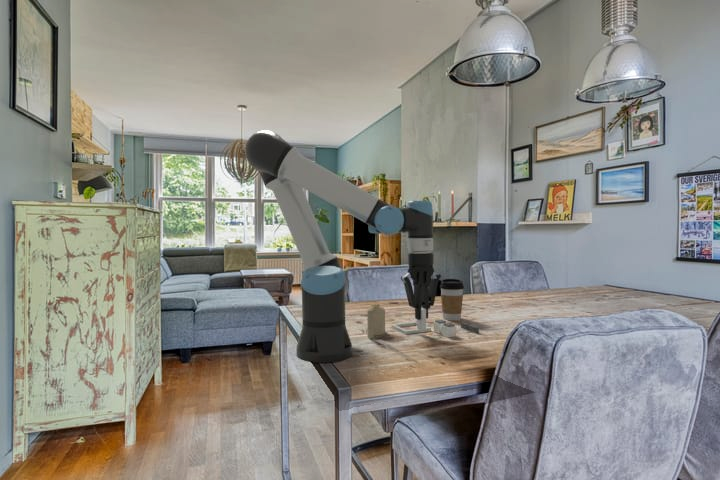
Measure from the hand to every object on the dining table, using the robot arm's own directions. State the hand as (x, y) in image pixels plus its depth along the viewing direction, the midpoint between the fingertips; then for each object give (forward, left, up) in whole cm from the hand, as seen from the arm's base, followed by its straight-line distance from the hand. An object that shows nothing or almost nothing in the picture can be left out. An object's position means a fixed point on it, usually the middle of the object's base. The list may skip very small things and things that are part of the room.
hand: (421, 329), depth 124 cm
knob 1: (+7, 0, -2) cm, 7 cm away
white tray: (+6, +3, -3) cm, 7 cm away
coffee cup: (+21, +14, -3) cm, 25 cm away
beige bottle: (-11, +9, -3) cm, 14 cm away
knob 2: (+7, -4, -2) cm, 8 cm away
